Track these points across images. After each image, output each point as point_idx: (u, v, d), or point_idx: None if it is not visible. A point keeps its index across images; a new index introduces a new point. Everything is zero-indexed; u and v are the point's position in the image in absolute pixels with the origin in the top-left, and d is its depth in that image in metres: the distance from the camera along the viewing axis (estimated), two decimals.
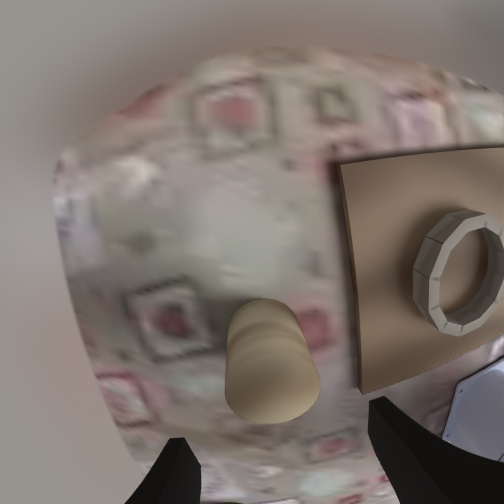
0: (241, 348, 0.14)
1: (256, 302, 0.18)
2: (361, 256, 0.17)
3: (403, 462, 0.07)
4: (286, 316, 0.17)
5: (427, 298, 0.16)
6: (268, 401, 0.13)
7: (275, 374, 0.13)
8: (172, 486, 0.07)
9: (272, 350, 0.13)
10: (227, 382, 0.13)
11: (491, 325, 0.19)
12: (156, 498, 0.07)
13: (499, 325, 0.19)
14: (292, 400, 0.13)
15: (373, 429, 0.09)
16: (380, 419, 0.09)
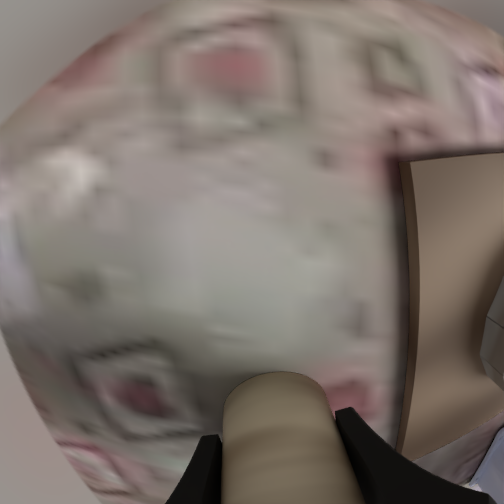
0: (245, 478, 0.07)
1: (267, 378, 0.11)
2: (429, 307, 0.10)
3: (364, 477, 0.07)
4: (314, 406, 0.09)
5: None
6: None
7: None
8: (211, 485, 0.07)
9: (300, 497, 0.06)
10: None
11: None
12: (197, 499, 0.07)
13: None
14: None
15: None
16: (343, 431, 0.09)
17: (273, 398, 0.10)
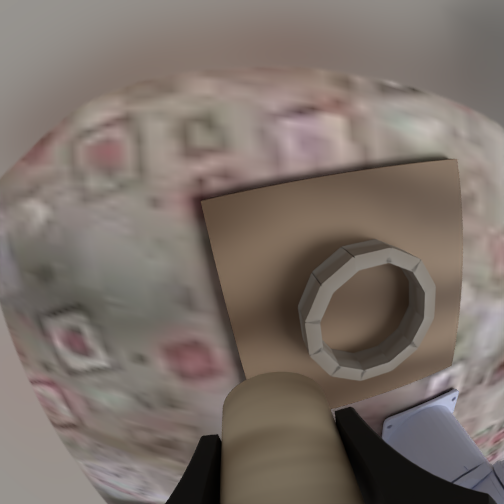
0: (244, 478, 0.07)
1: (266, 378, 0.11)
2: (231, 294, 0.17)
3: (364, 477, 0.07)
4: (314, 405, 0.09)
5: (307, 342, 0.16)
6: None
7: None
8: (211, 485, 0.07)
9: (299, 497, 0.06)
10: None
11: (421, 363, 0.19)
12: (197, 498, 0.07)
13: (433, 362, 0.19)
14: None
15: None
16: (343, 431, 0.09)
17: (272, 398, 0.10)
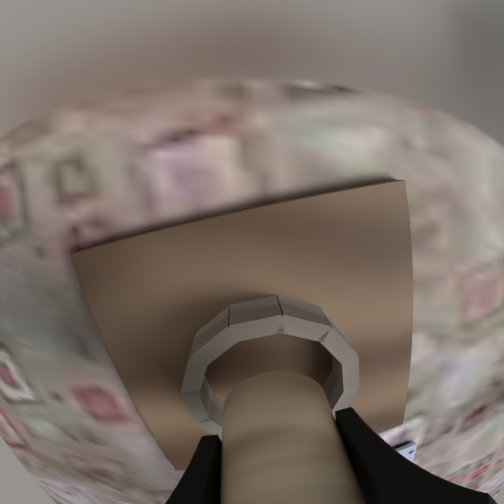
0: (244, 478, 0.07)
1: (266, 378, 0.11)
2: (114, 349, 0.14)
3: (363, 477, 0.07)
4: (314, 405, 0.09)
5: (190, 410, 0.13)
6: None
7: None
8: (211, 485, 0.07)
9: (300, 497, 0.06)
10: None
11: None
12: (197, 498, 0.07)
13: (376, 423, 0.16)
14: None
15: None
16: (343, 431, 0.09)
17: (273, 397, 0.10)
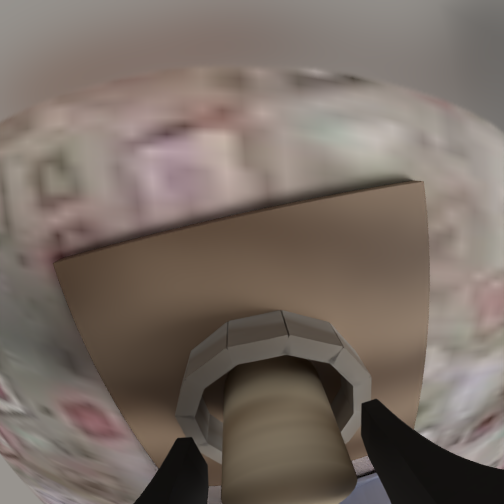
0: (244, 441, 0.08)
1: None
2: (103, 367, 0.12)
3: (394, 465, 0.07)
4: (307, 380, 0.11)
5: (186, 433, 0.11)
6: None
7: (295, 481, 0.07)
8: (181, 486, 0.07)
9: (293, 455, 0.07)
10: (224, 490, 0.07)
11: None
12: (165, 498, 0.07)
13: None
14: (316, 501, 0.07)
15: (365, 431, 0.09)
16: (372, 422, 0.09)
17: (269, 372, 0.11)
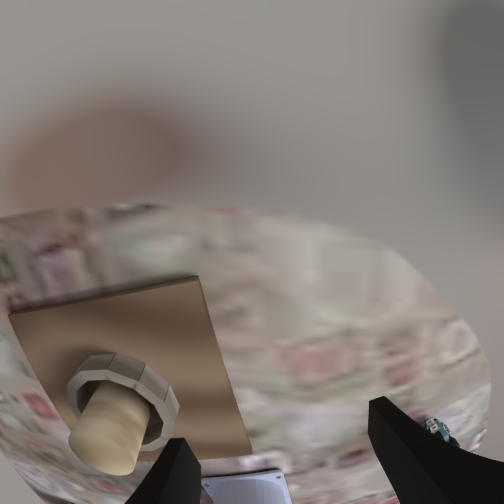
0: (79, 419, 0.14)
1: None
2: (38, 373, 0.19)
3: (403, 462, 0.07)
4: (126, 395, 0.17)
5: (77, 415, 0.18)
6: (100, 459, 0.14)
7: (95, 444, 0.13)
8: (172, 486, 0.07)
9: (89, 429, 0.13)
10: (69, 441, 0.13)
11: (208, 447, 0.21)
12: (156, 498, 0.07)
13: (224, 449, 0.21)
14: (116, 463, 0.14)
15: (373, 429, 0.09)
16: (380, 419, 0.09)
17: (107, 387, 0.17)
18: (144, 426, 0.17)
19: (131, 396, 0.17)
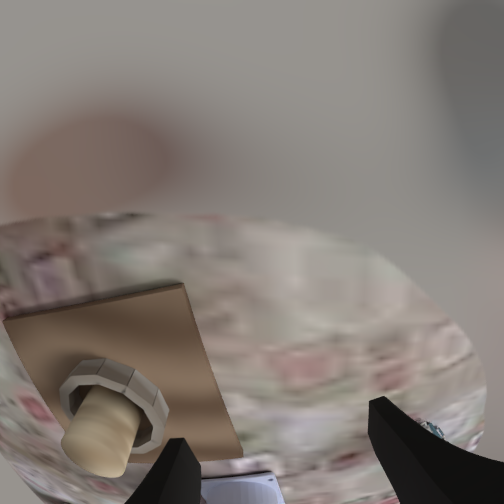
0: (71, 423, 0.14)
1: None
2: (33, 377, 0.19)
3: (403, 462, 0.07)
4: (115, 399, 0.17)
5: (70, 419, 0.18)
6: (91, 462, 0.14)
7: (86, 447, 0.13)
8: (172, 486, 0.07)
9: (80, 432, 0.13)
10: (61, 444, 0.13)
11: (199, 450, 0.21)
12: (156, 498, 0.07)
13: (215, 452, 0.21)
14: (107, 466, 0.14)
15: (373, 429, 0.09)
16: (380, 419, 0.09)
17: (98, 391, 0.17)
18: (134, 429, 0.17)
19: (121, 400, 0.17)
